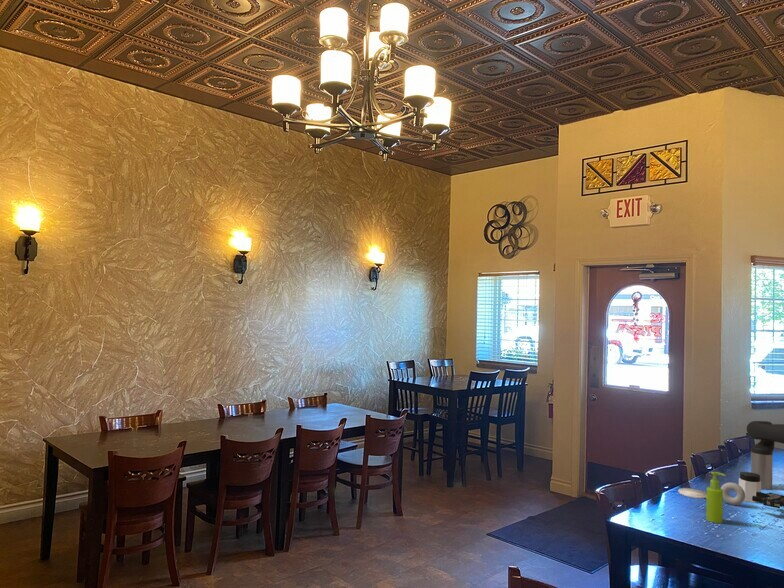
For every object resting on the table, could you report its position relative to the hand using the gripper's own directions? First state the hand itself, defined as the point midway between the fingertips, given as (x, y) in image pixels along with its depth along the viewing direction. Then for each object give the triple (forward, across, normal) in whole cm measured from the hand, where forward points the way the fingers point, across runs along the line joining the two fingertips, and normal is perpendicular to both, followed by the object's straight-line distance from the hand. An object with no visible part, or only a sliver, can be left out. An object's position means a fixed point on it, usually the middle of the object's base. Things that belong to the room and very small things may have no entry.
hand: (754, 496), depth 254 cm
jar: (+4, -15, +6) cm, 17 cm away
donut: (+8, 0, +6) cm, 11 cm away
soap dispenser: (+9, +30, +6) cm, 32 cm away
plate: (+26, -3, +6) cm, 26 cm away
